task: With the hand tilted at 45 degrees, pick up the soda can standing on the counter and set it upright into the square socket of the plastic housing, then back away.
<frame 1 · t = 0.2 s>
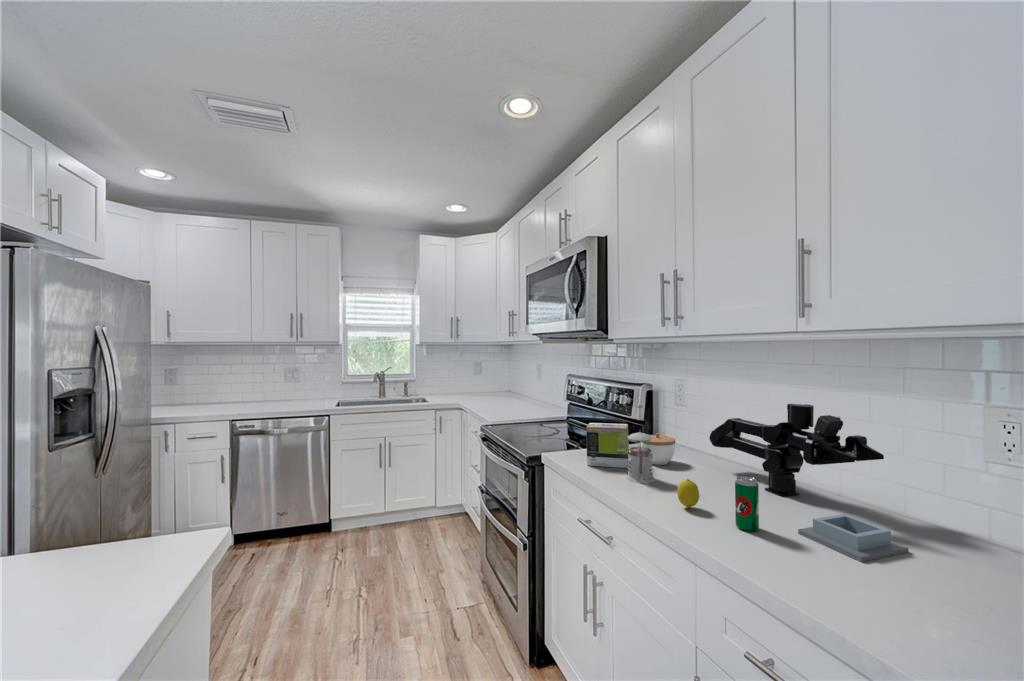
hand: (869, 458, 105), 17 cm above the countertop, tool horizontal, fingers open, 9 cm apart
lidded bowl: (658, 462, 164), on the countertop
lemon: (688, 509, 118), on the countertop
tea box: (608, 464, 162), on the countertop
housing: (850, 542, 97), on the countertop
french press: (640, 480, 143), on the countertop
soda can: (747, 529, 105), on the countertop
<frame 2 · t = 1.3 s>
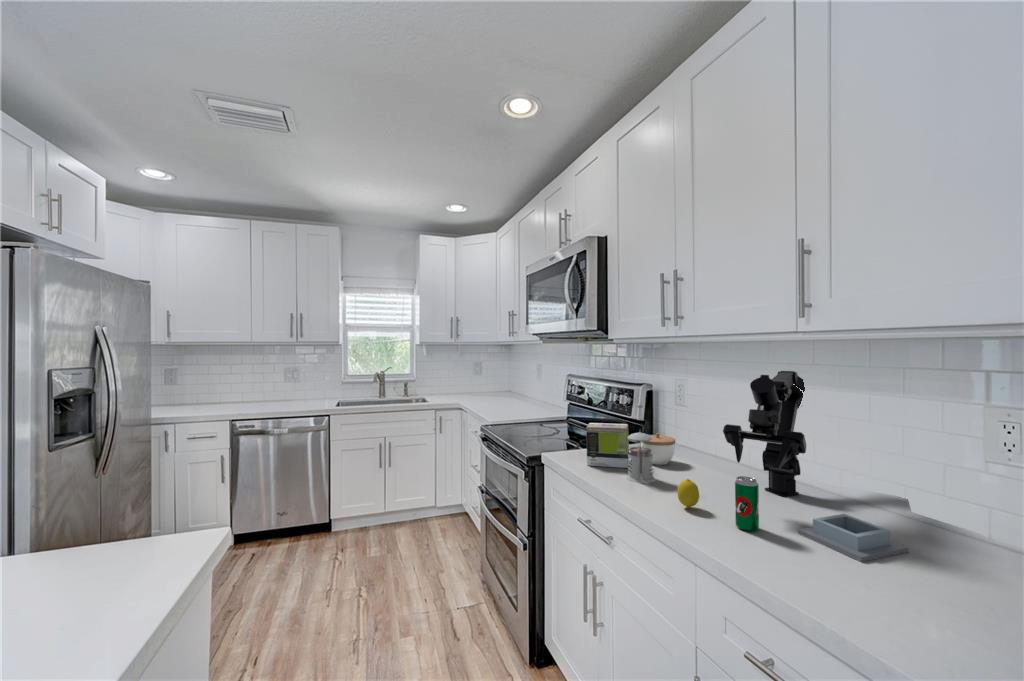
hand: (757, 464, 111), 14 cm above the countertop, tool tilted 45°, fingers open, 9 cm apart
nothing on the countertop moved.
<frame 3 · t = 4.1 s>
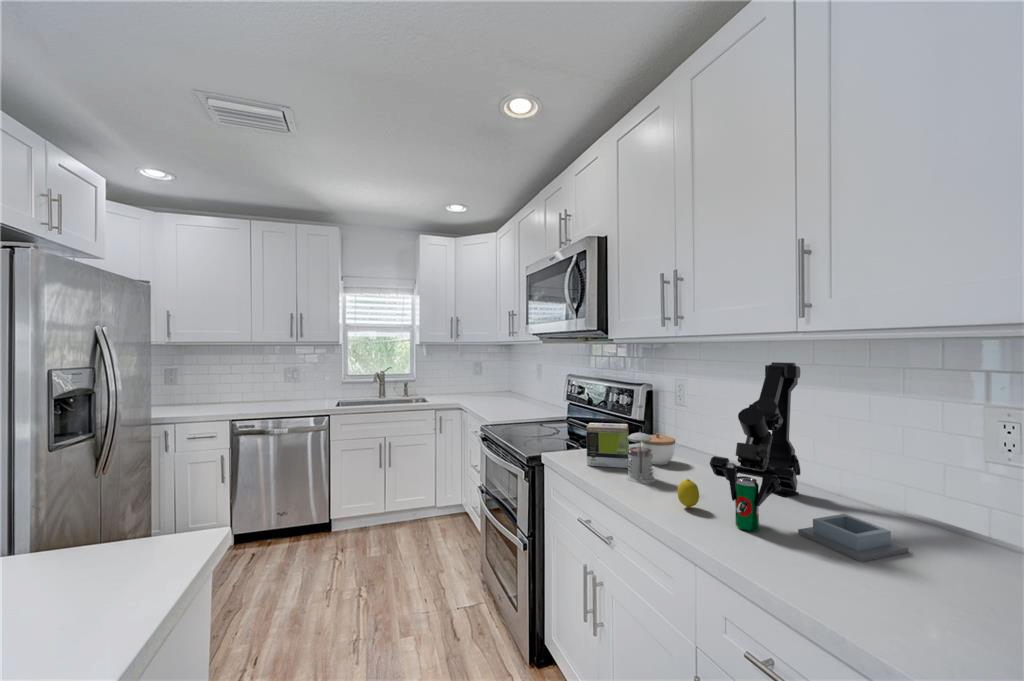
hand: (745, 502, 104), 7 cm above the countertop, tool tilted 45°, fingers closed on soda can, 5 cm apart
soda can: (747, 529, 105), on the countertop, touching gripper
everything else where it was.
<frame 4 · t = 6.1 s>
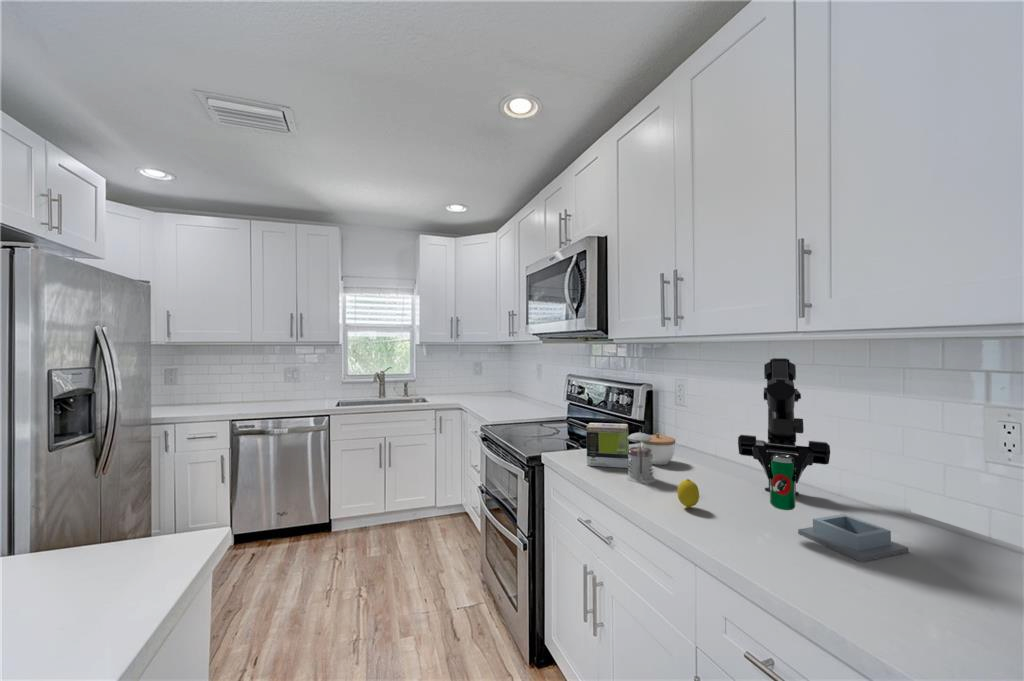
hand: (782, 480, 100), 13 cm above the countertop, tool tilted 45°, fingers closed on soda can, 5 cm apart
soda can: (782, 507, 101), point 6 cm above the countertop, touching gripper
everything else where it was.
when the fingers open (9 cm above the countertop, at t = 8.3 s): soda can drops 1 cm, resting on housing.
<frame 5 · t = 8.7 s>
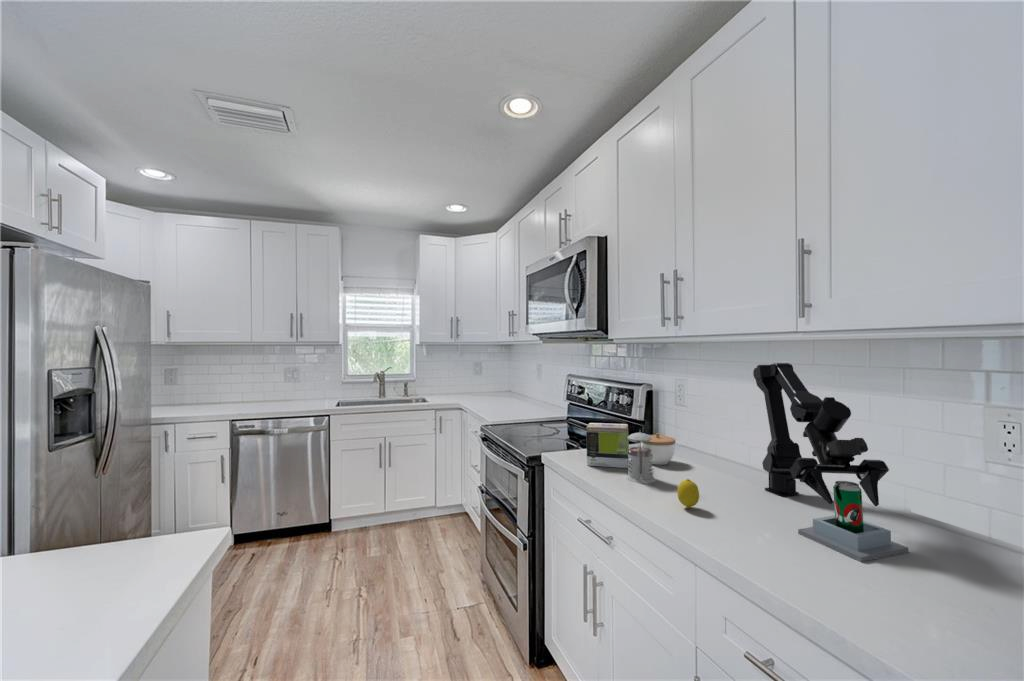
hand: (854, 504, 96), 9 cm above the countertop, tool tilted 45°, fingers open, 9 cm apart
soda can: (850, 538, 97), point 1 cm above the countertop, touching housing
everything else where it was.
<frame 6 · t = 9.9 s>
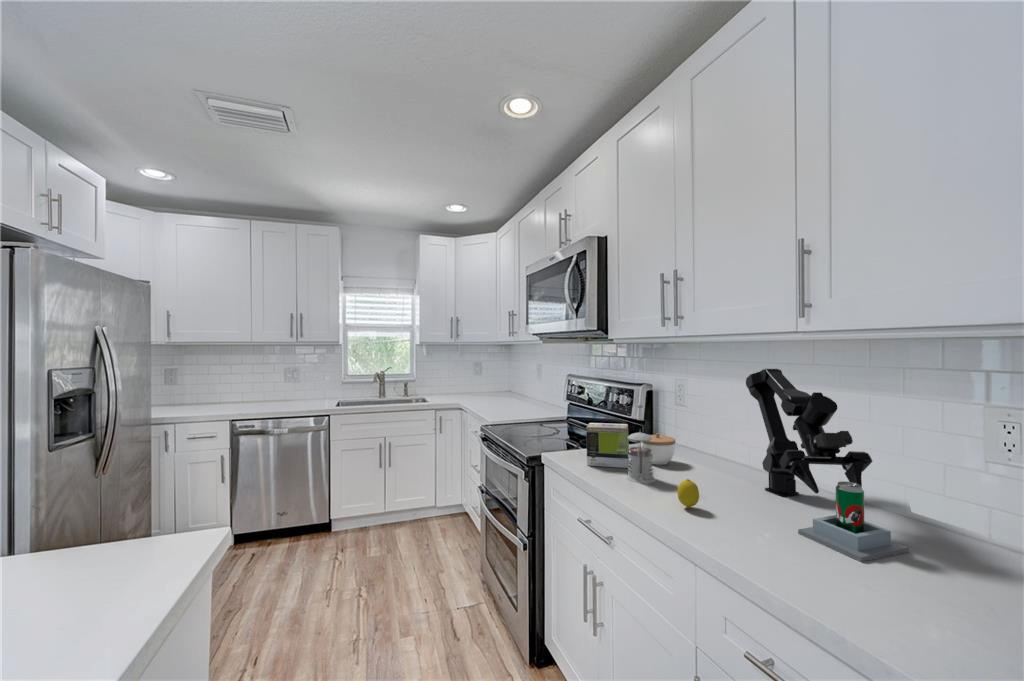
hand: (838, 493, 101), 10 cm above the countertop, tool tilted 45°, fingers open, 9 cm apart
nothing on the countertop moved.
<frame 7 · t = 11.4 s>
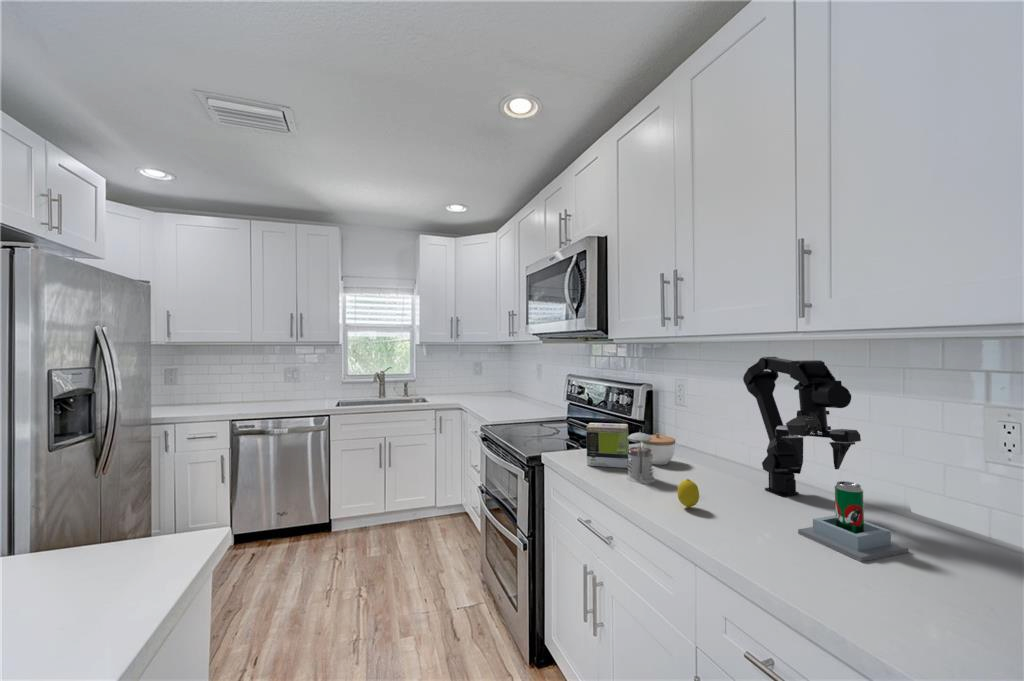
hand: (818, 466, 114), 12 cm above the countertop, tool pointing down, fingers open, 9 cm apart
nothing on the countertop moved.
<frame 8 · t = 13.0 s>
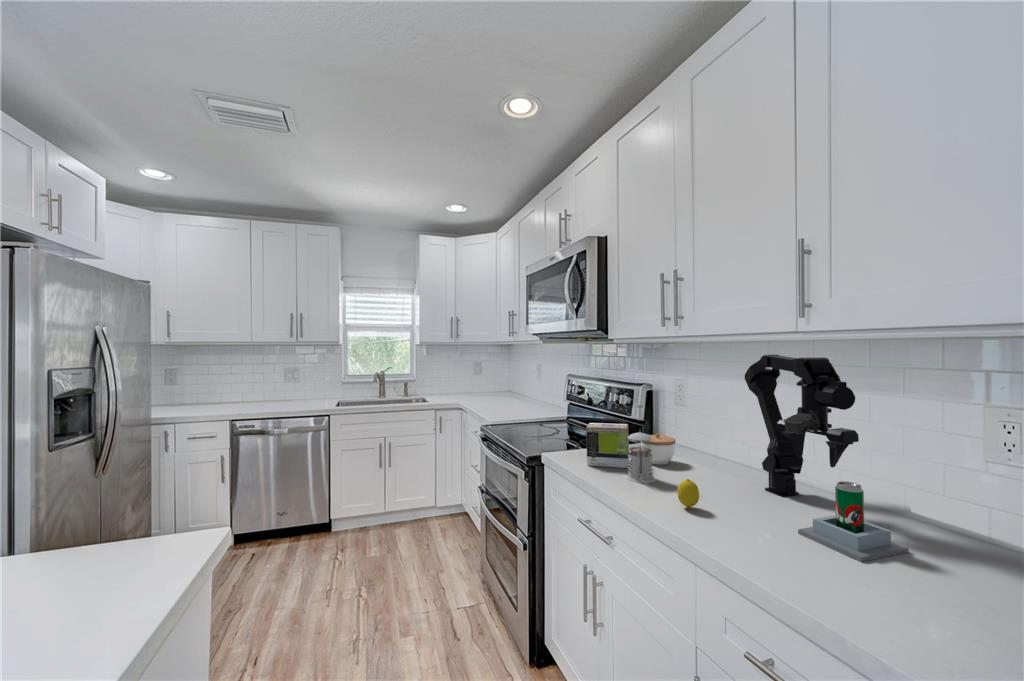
hand: (815, 462, 115), 13 cm above the countertop, tool pointing down, fingers open, 9 cm apart
nothing on the countertop moved.
at the end: soda can 0.2 cm off-centre on the housing, point 0.8 cm above the housing's base; soda can tilted 0°; the gripper is holding nothing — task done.
